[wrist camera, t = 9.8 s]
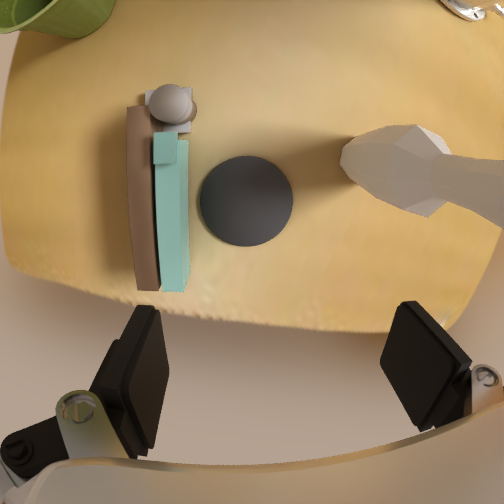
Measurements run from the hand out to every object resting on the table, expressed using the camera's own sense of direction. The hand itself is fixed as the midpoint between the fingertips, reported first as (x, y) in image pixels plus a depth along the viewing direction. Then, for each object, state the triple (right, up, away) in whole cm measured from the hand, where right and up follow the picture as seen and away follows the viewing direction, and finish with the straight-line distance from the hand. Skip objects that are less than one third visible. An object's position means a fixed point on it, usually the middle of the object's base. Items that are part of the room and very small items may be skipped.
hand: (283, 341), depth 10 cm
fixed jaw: (-9, +10, +17) cm, 22 cm away
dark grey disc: (-2, +8, +18) cm, 20 cm away
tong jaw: (-8, +8, +17) cm, 20 cm away
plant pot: (-19, +30, +9) cm, 37 cm away
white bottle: (+10, +13, +18) cm, 24 cm away
